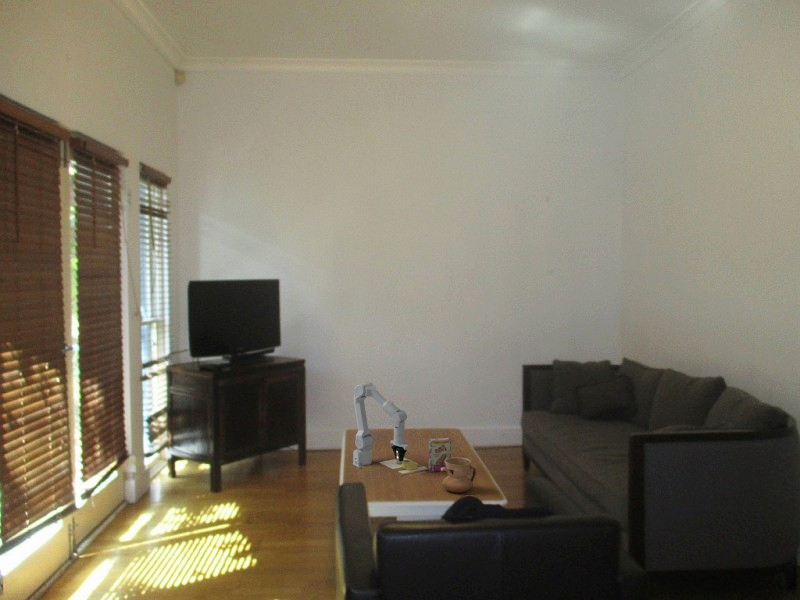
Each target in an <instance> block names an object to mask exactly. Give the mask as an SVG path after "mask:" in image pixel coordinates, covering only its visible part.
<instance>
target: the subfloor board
mask: <svg viewBox="0 0 800 600" xmlns="http://www.w3.org/2000/svg"><path fill="white" fill-rule="evenodd" d="M407 459H408V458H406V457H404V460H407ZM409 460H410V459H409ZM410 461H412V460H410ZM378 463H380V464H381V465H383V466H385V467H388V468H390V469H392V470H394V471H396V472H398V473H400V474H402V475H401V476H403V477H404V476H407V475H414V474H419V473H424V472H427V471H429V468H428V467H426V466H424V465H422V464H419V463H417V469H415V470H410V471H408V470H406V469H404V468H402V467H400V464H397V462H396V459H395V458H394V459H389V460H384V461H380V462H379V461H378Z"/></svg>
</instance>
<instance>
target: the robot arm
mask: <svg viewBox="0 0 800 600" xmlns="http://www.w3.org/2000/svg"><path fill="white" fill-rule="evenodd" d="M367 397H370V398H372V399H373V400H375V401H376V402H377V403H378V404H380V405H381V407H382V410H383V411H384V412H385V413H386V414H387V415H388V416H390V419H391V422H392V424H393V439H391V440H390V444H391V449H392V452H393V455H394V459H396V450H397V452H398V456H399V461H400V462H401V461H403V460H404V458H405V455H406V452H407V451H408V450H409V445H408V444H407V443H408V442H407V441H406V440H405V439H406V438H405V437H406V433H405V432H406V431H405V430H406V428H405V425H406V424H405V422H406V420H407V418H408V417H407V416H408V415H407V413H406V412H405V410H403V409H400V408H399V407H397V406H396V405H395V404H394V402H393V401H390V400H387V399H386V398H385V397H384V396H383V395H382V394H381V392H380V391H378V389H377V387H376V385H375V384H373V383H372V382H370V381H367V382H364V383H361V384H357V385H356V386H355V387H354V388H353V398H352V399H353V406H354V412H355V419H356V426H357V432H356V434H355V441H354V444H355V447H356V449H354V450H353V453H352V461H353V462H352V465H353V466H355V467H357V468H362V466H368V465H371V464H372V457H373V456H372V448H373V445H374V443H375V439H374V436H373V434H372V431H371V430H370V429H369V426H368V424H369V423H368V419H367V412H366V405H365V400H366V398H367Z"/></svg>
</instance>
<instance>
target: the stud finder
mask: <svg viewBox="0 0 800 600" xmlns="http://www.w3.org/2000/svg"><path fill="white" fill-rule="evenodd" d="M406 459H407V460H403V461H402V464H400V467H402V468H404V469H406V470H408V471H410V470H415V469H417V464H418V463H417V462H416V461H413V460H411V461H410V459H408V458H406Z"/></svg>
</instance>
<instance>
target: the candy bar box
mask: <svg viewBox="0 0 800 600" xmlns="http://www.w3.org/2000/svg"><path fill="white" fill-rule="evenodd" d="M448 458H452V440H451V439H450V438H449V437H443V438H428V462H427V463H428V466H427V468H428V471H429V473H437V472H442V471H441V468H442V467H445V468H446V465H445V460H446V459H448Z"/></svg>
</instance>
